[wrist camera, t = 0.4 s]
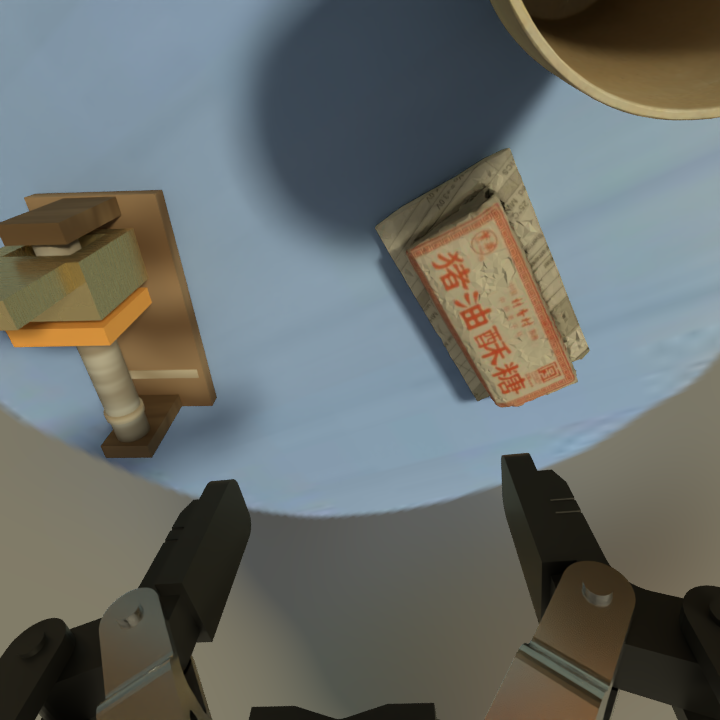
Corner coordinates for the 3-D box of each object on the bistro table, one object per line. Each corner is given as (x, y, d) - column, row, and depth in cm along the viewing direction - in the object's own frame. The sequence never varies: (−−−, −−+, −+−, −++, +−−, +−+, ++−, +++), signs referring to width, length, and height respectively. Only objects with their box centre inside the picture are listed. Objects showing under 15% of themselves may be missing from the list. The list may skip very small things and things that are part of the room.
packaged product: (611, 378, 33) (486, 430, 36) (585, 345, 37) (474, 394, 40) (525, 152, 25) (373, 243, 28) (503, 142, 29) (372, 222, 32)
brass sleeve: (38, 230, 29) (-121, 303, 20) (133, 228, 29) (17, 300, 19) (59, 280, 31) (-77, 367, 22) (148, 278, 31) (50, 365, 21)
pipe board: (35, 193, 31) (-54, 224, 24) (162, 189, 30) (105, 219, 24) (119, 398, 40) (72, 459, 34) (216, 397, 40) (187, 458, 34)
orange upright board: (64, 289, 31) (5, 329, 26) (147, 287, 31) (103, 328, 26) (70, 304, 32) (14, 347, 27) (152, 302, 32) (110, 345, 27)
